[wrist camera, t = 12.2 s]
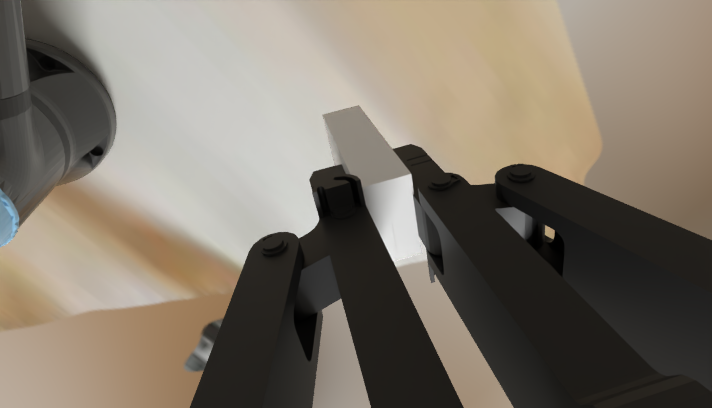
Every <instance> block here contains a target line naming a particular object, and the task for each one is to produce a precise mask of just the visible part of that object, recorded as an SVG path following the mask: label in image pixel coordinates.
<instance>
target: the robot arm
mask: <svg viewBox="0 0 712 408" xmlns="http://www.w3.org/2000/svg"><path fill="white" fill-rule="evenodd" d="M323 119H324V123H325V127H326V131H327V135H328V139H329V144H330V148H331V152H332V156H333V160H334V164H335V166H332V167H329V168H325V169H321V170H318V171H314V172H313V174H312V176H311V178H310V184H311V187H312V191H313V192H312V194H313V197H314V201H315V204H316V208H317V211H318V215H319V222H318V224H317V226H316V227H315V228H314V229H313V230H312V231H311V232H309V233H308V234H306V235H304V236H303V237H301V238H298V237H297V236H296V235H295V234H292V233H289V232H278V233H274V234H270V235H267V236H265V237H263V238H262V239H260V240H259V241H257V242H256V243H255V244H254V245H253V246H252V248H251V249H250V251H249V253H248V256H247V259H246V261H245V264H244V267H243V269H242V272H241V274H240V277H239V280H238V282H237V285H236V288H235V290H234V293H233V295H232V298H231V301H230V303H229V306H228V309H227V311H226V314H225V316H224V319H223V322H222V324H221V327H220V330H219V332H218V335H217V337H216V340H215V343H214V345H213V348H212V351H211V353H210V356H209V359H208V361H207V364H206V366H205V369H204V372H203V374H202V377H201V380H200V382H199V385H198V388H197V390H196V393H195V395H194V398H193V401H192V403H191V406H190V408H312V404H313V396H314V388H315V379H316V371H317V362H318V354H319V346H320V337H321V329H322V320H323V314H322V309H324V308H325V307H327V306H329V305H330V304H332V303H334V302H335V301H337V300H339V299H340V298H341V299H342V302H343V306H344V310H345V313H346V317H347V321H348V324H349V328H350V332H351V335H352V339H353V343H354V346H355V350H356V354H357V357H358V361H359V364H360V368H361V372H362V375H363V379H364V383H365V386H366V390H367V393H368V398H369V401H370V405H371V408H463V405H462V403H461V402H460V399H459V397H458V395H457V393H456V391H455V389H454V387H453V385H452V383H451V381H450V379H449V376H448V374H447V372H446V370H445V368H444V366H443V364H442V362H441V360H440V358H439V356H438V354H437V352H436V350H435V347H434V345H433V343H432V341H431V339H430V337H429V335H428V333H427V331H426V329H425V327H424V325H423V323H422V321H421V318H420V317H419V314H418V312H417V310H416V308H415V306H414V304H413V302H412V300H411V298H410V296H409V294H408V291H407V289H406V287H405V285H404V283H403V281H402V279H401V277H400V275H399V273H398V271H397V269H396V267H395V265H394V262H395V261H398V260H401V259H405V258H408V257H412V256H415V255H418V254H422V246H421V240H422V242H423V244H424V245H425V247H426V252H427V259H428V267H429V274H430V280H431V283H433V282H435V279H434V275H436V276H437V278H438V280H439V282H440V283H441V285H442V286H443V288H444V290H445V292H446V293H447V295H448V297H449V299H450V300H451V302H452V304H453V305H454V307H455V309H456V310H457V312H458V314H459V315H460V317H461V319H462V321H463V322H464V324H465V326H466V327H467V329H468V331H469V332H470V334H471V336H472V338H473V339H474V341H475V343H476V344H477V346H478V348H479V349H480V351H481V353H482V354H483V356H484V358H485V360H486V361H487V363H488V364H489V366H490V368H491V370H492V371H493V373H494V375H495V377H496V378H497V380H498V381H499V383H500V385H501V386H502V388H503V390H504V392H505V393H506V395H507V397H508V399H509V400H510V402H511V404H512V405H513V407H514V408H712V240H710V239H707V238H705V237H703V236H700V235H698V234H695V233H693V232H691V231H688V230H686V229H684V228H681V227H679V226H676V225H674V224H672V223H669V222H667V221H665V220H662V219H660V218H658V217H655V216H653V215H651V214H648V213H646V212H644V211H641V210H639V209H637V208H634V207H632V206H629V205H627V204H624V203H623V202H620V201H618V200H615V199H613V198H611V197H608V196H606V195H604V194H601V193H599V192H596V191H594V190H592V189H590V188H587V187H585V186H582V185H580V184H578V183H575V182H573V181H571V180H568V179H566V178H564V177H561V176H559V175H557V174H554V173H552V172H549V171H547V170H545V169H542V168H540V167H537V166H533V165H526V164H517V165H516V164H514V165H510V166H507V167H504V168H502V169H500V170H499V171H497V173H496V175H495V183H494V184H483V185H470V184H469V183H468V182H467V181H466V180H465V179H464V178H463V177H461V176H460V175H458V174H453V173H445V172H444V171H443V170H442V169H441V168H440V167H439V166H438V165H437V164H436V163H435V162H434V161H432V159H431V157H430V156H429V155H427V153H426V152H425V151H424V150H423V149H422V148H420V147H418V146H415V145H412V144H409V145H406V146H402V147H398V148H395V149H392V148H391V147H390V145H389V144H388V143H387V141H386V140H385V139H384V138H383V136H382V135H381V134H380V132H379V131H378V130H377V128H376V127H375V126H374V125H373V123H372V122H371V121H370V119H369V118H368V117H367V115H366V114H365V113H364V112H363V110H362V109H361V108H360V106H359V105H358V106H354V107H351V108H347V109H343V110H339V111H335V112H331V113H328V114H324V115H323ZM115 134H116V116H115V111H114V108H113V105H112V102H111V100H110V98H109V95H108V94H107V92H106V90H105V89H104V87H103V86H102V84H101V83H100V81H99V80H98V79H97V78H96V77H95V75H94V74H93V73H92V72H91V71H90V70H89V69H88V68H86V67H85V66H84V65H83V64H82V63H80V62H79V61H78V60H76V59H75V58H73V57H72V56H70V55H69V54H67V53H65V52H63V51H61V50H59V49H57V48H55V47H53V46H50V45H47V44H45V43H41V42H38V41H34V40H28V39H25V34H24V26H23V17H22V8H21V0H0V247H2V246H3V245H6V244H7V243H9V242H10V241H11V240H12V239H13V238H14V236H15V233H17V232H18V231H17V229H18V228H19V227H20V226H21V225H22V224H23V222H24V221H25V220H26V219H27V218H28V217H29V216H30V215H31V213H32V212H33V211H34V210H35V209H36V208H37V207H38V205H39V204H40V203H41V202H42V201H43V200H44V199H45V198H46V196H47V195H48V194H49V193H50V192H51V191H52V190H53V189H54V187H55V186H59V185H62V184H66V183H69V182H72V181H75V180H77V179H80V178H82V177H83V176H85V175H87V174H88V173H90V172H91V171H93V170H94V169H95V168H96V167H97V166H98V165H99V164H100V163H101V162H102V160H103V159H104V158H105V156H106V155H107V154H108V152H109V151H110V149H111V147H112V145H113V142H114V139H115ZM545 225H546V226H548V227H550V228H552V229H554V230H555V236H554V239H551V238H549V237H547V236H546V235H545Z"/></svg>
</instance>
